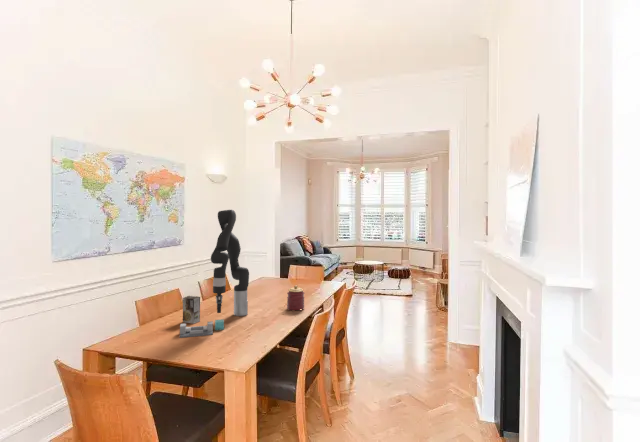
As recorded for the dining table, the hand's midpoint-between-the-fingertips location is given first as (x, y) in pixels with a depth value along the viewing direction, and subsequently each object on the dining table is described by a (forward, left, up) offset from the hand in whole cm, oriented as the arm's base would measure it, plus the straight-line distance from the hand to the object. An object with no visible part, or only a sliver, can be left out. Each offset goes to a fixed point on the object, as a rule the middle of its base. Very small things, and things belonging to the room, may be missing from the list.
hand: (218, 311), depth 208 cm
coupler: (0, 0, -11) cm, 11 cm away
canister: (-56, -31, -11) cm, 65 cm away
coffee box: (+17, -19, -11) cm, 28 cm away
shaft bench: (+13, +4, -11) cm, 17 cm away
